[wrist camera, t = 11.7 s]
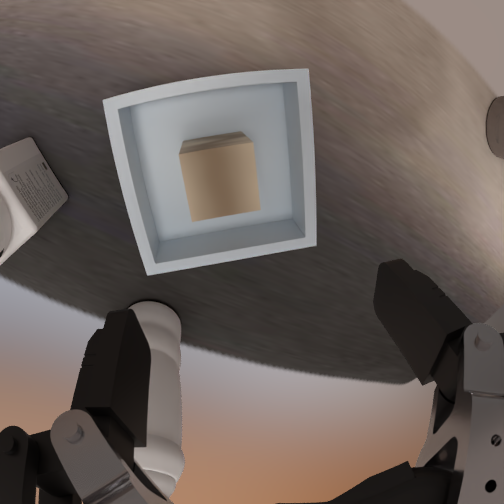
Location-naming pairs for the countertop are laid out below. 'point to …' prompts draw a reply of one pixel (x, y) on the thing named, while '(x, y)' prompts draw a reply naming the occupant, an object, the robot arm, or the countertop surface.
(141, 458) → the water bottle
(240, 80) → the gray bin
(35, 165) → the container
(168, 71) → the countertop surface
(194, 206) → the maple block
